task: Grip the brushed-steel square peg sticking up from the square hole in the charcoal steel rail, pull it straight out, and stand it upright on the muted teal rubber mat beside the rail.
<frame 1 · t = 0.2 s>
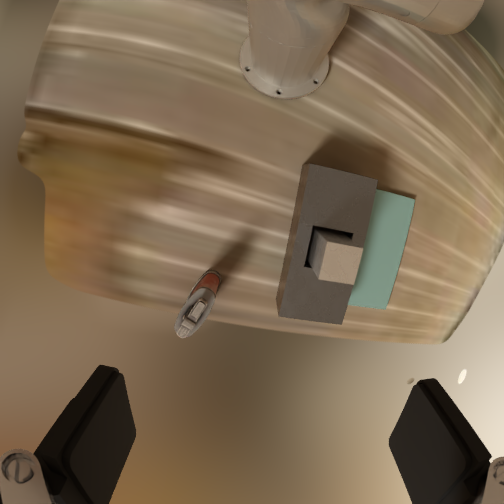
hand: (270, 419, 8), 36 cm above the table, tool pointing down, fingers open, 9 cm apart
peg: (328, 250, 38), in the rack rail
lighter: (203, 291, 46), on the table
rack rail: (319, 239, 43), on the table
mat: (377, 250, 44), on the table
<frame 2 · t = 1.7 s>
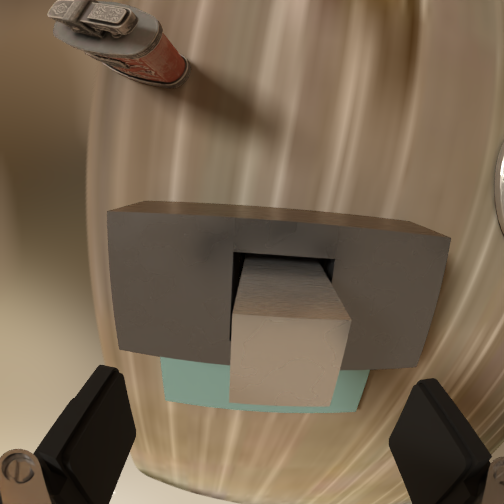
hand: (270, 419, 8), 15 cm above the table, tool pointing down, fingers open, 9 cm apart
peg: (280, 302, 17), in the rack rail
lighter: (145, 62, 19), on the table
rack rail: (276, 269, 22), on the table
mat: (265, 373, 25), on the table
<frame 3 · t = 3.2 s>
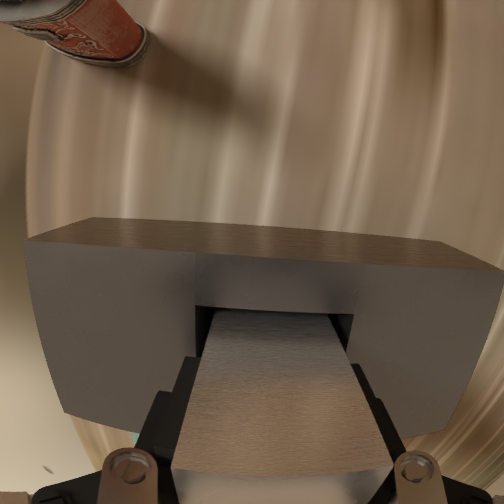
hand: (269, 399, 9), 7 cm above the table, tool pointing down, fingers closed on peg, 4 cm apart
peg: (268, 375, 11), in the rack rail, touching gripper
lighter: (97, 39, 13), on the table
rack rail: (265, 309, 16), on the table
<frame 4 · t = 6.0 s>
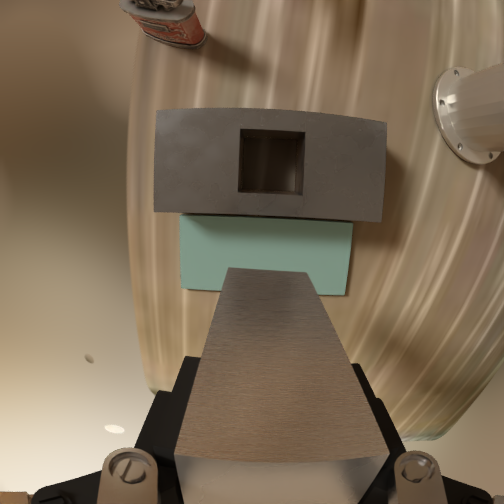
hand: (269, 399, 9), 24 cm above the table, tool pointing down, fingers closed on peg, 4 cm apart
peg: (268, 370, 11), point 22 cm above the table, touching gripper
lighter: (174, 33, 27), on the table
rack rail: (269, 164, 30), on the table
mat: (265, 254, 32), on the table
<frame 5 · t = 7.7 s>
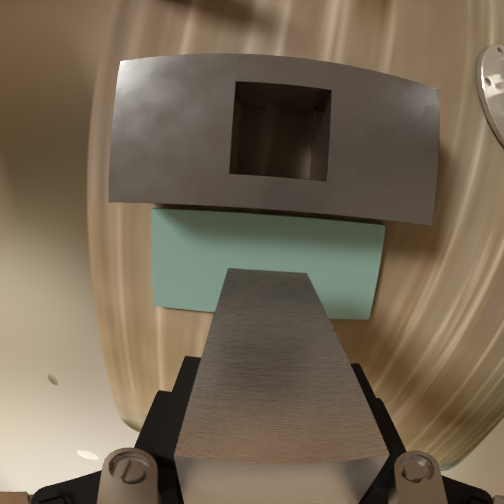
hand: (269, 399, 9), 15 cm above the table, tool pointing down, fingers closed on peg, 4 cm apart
peg: (268, 370, 11), point 13 cm above the table, touching gripper
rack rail: (275, 141, 21), on the table
mat: (266, 265, 24), on the table
when the fingers open (10 cm above the table, at t = 9.0 s): peg drops 1 cm, resting on mat.
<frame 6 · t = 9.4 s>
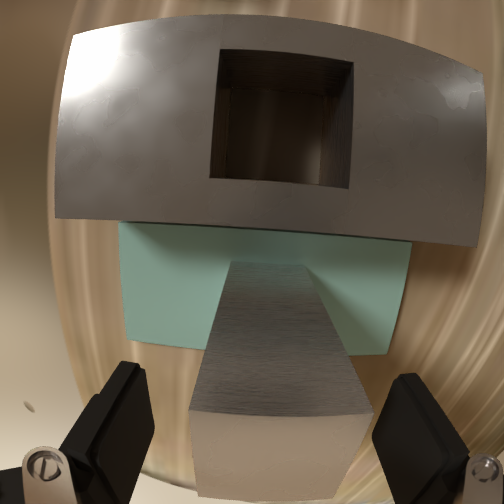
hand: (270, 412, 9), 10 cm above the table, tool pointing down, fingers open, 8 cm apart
peg: (268, 351, 12), on the mat, point 7 cm above the table
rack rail: (275, 134, 16), on the table
mat: (263, 292, 19), on the table
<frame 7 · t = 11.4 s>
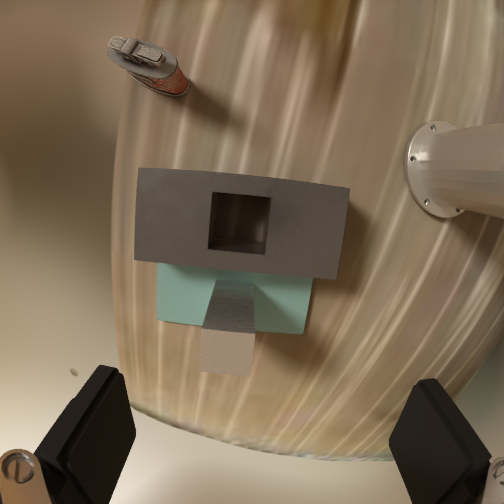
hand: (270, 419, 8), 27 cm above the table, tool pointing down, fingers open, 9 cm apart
peg: (230, 321, 29), on the mat, point 7 cm above the table
lighter: (160, 79, 30), on the table
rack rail: (240, 216, 34), on the table
mat: (232, 296, 36), on the table
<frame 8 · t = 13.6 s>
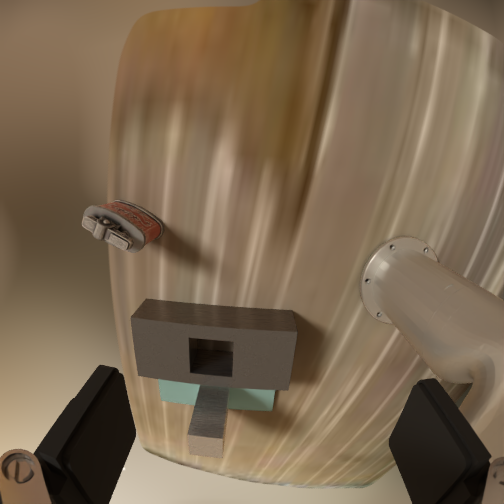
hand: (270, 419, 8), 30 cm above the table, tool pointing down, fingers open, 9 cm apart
peg: (211, 415, 37), on the mat, point 7 cm above the table
lighter: (137, 218, 38), on the table
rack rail: (216, 334, 41), on the table
mat: (216, 386, 44), on the table
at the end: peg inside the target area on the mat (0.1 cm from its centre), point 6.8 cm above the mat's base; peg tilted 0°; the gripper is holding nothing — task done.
